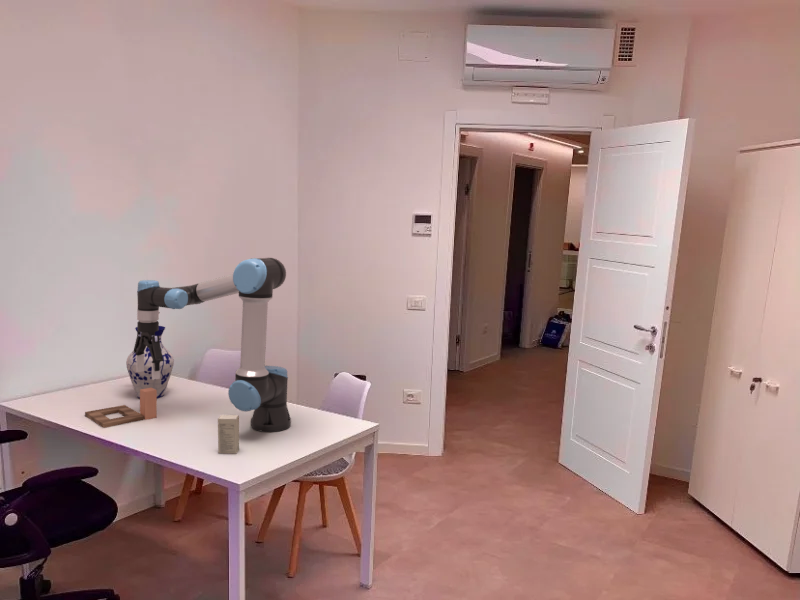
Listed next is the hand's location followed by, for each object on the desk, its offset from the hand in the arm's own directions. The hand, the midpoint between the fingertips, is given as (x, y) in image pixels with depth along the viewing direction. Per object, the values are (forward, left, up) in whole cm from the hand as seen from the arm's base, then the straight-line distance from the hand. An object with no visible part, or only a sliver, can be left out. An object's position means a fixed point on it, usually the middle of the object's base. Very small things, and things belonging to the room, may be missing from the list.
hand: (147, 375), depth 232 cm
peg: (0, 0, -17) cm, 17 cm away
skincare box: (-50, -5, -17) cm, 53 cm away
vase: (+27, -13, -17) cm, 34 cm away
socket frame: (+7, +10, -17) cm, 21 cm away
